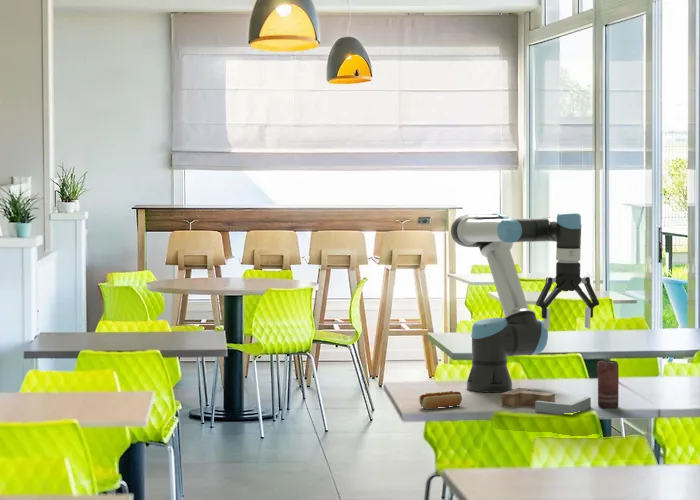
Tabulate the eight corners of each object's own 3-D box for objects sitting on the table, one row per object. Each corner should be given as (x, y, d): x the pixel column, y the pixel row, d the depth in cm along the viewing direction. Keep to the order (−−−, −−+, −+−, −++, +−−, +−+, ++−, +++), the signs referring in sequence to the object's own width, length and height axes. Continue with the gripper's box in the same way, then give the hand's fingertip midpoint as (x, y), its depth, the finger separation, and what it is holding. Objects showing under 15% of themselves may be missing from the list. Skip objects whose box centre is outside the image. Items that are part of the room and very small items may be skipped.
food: (424, 411, 322) (424, 395, 322) (416, 408, 327) (416, 392, 327) (465, 407, 328) (465, 391, 327) (456, 404, 333) (456, 388, 332)
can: (594, 405, 328) (594, 360, 328) (614, 404, 329) (614, 359, 328) (600, 409, 322) (600, 363, 322) (621, 408, 323) (621, 362, 322)
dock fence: (535, 411, 319) (535, 401, 319) (555, 403, 332) (555, 393, 332) (571, 415, 313) (571, 405, 313) (590, 407, 325) (590, 397, 325)
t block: (501, 406, 328) (501, 393, 328) (518, 400, 338) (518, 387, 338) (544, 410, 320) (544, 397, 320) (560, 404, 330) (560, 391, 330)
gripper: (534, 263, 332) (533, 330, 333) (610, 262, 336) (609, 329, 338) (526, 261, 339) (525, 327, 341) (600, 260, 343) (599, 325, 345)
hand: (567, 328), depth 339 cm, fingers open, 13 cm apart
